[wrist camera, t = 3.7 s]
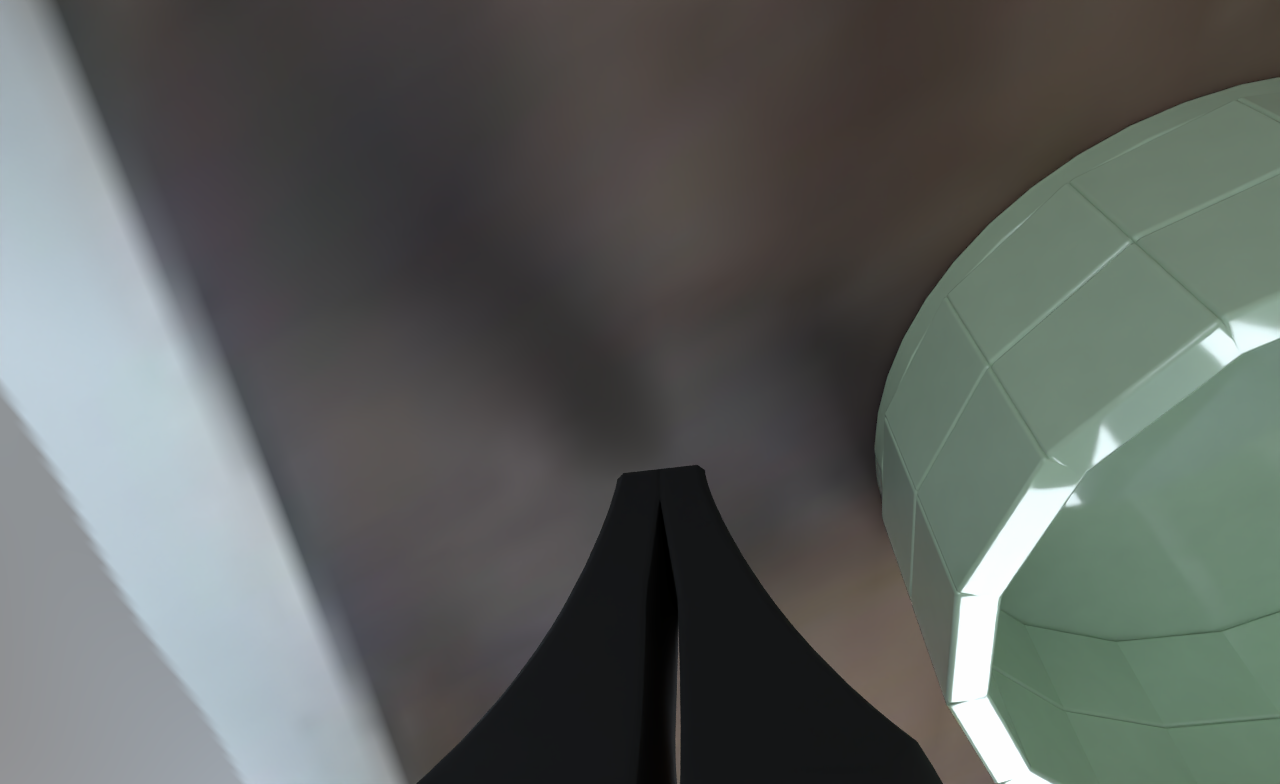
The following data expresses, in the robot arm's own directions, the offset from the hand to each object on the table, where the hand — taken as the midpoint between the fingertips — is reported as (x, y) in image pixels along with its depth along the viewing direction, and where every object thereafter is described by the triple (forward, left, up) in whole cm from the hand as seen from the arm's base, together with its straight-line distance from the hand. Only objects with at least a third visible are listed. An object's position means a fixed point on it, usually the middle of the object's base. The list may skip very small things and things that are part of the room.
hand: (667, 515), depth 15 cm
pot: (0, -9, -1) cm, 9 cm away
